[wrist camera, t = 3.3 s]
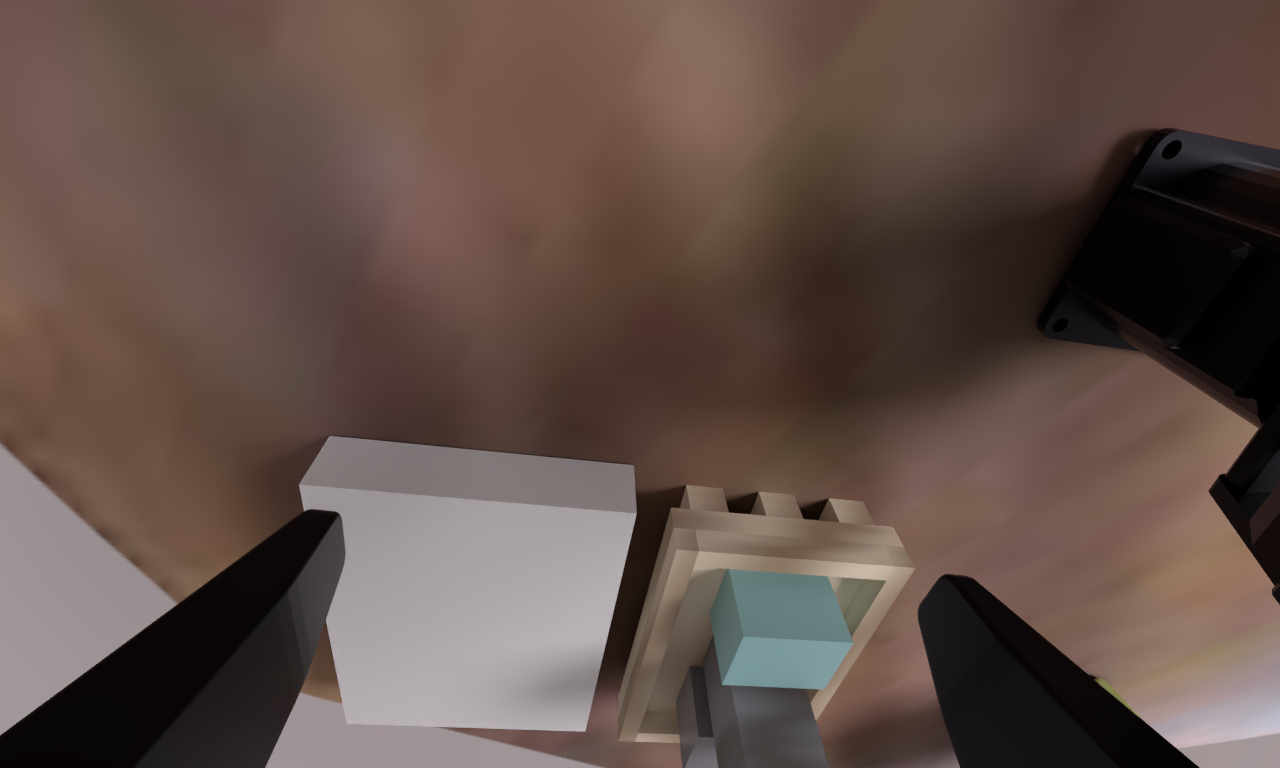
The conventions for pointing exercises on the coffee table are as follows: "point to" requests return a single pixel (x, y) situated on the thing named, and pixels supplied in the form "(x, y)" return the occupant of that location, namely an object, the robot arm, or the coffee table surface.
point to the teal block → (778, 630)
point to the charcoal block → (695, 722)
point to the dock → (471, 581)
